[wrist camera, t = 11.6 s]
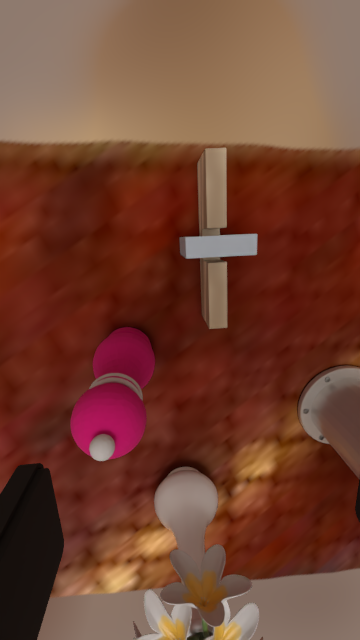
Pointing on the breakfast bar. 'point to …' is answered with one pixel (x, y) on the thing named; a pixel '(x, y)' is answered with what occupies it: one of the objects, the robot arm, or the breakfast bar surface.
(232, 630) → the flower vase
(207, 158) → the beige notched bar
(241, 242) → the notched plate
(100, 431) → the pepper mill
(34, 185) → the breakfast bar surface
